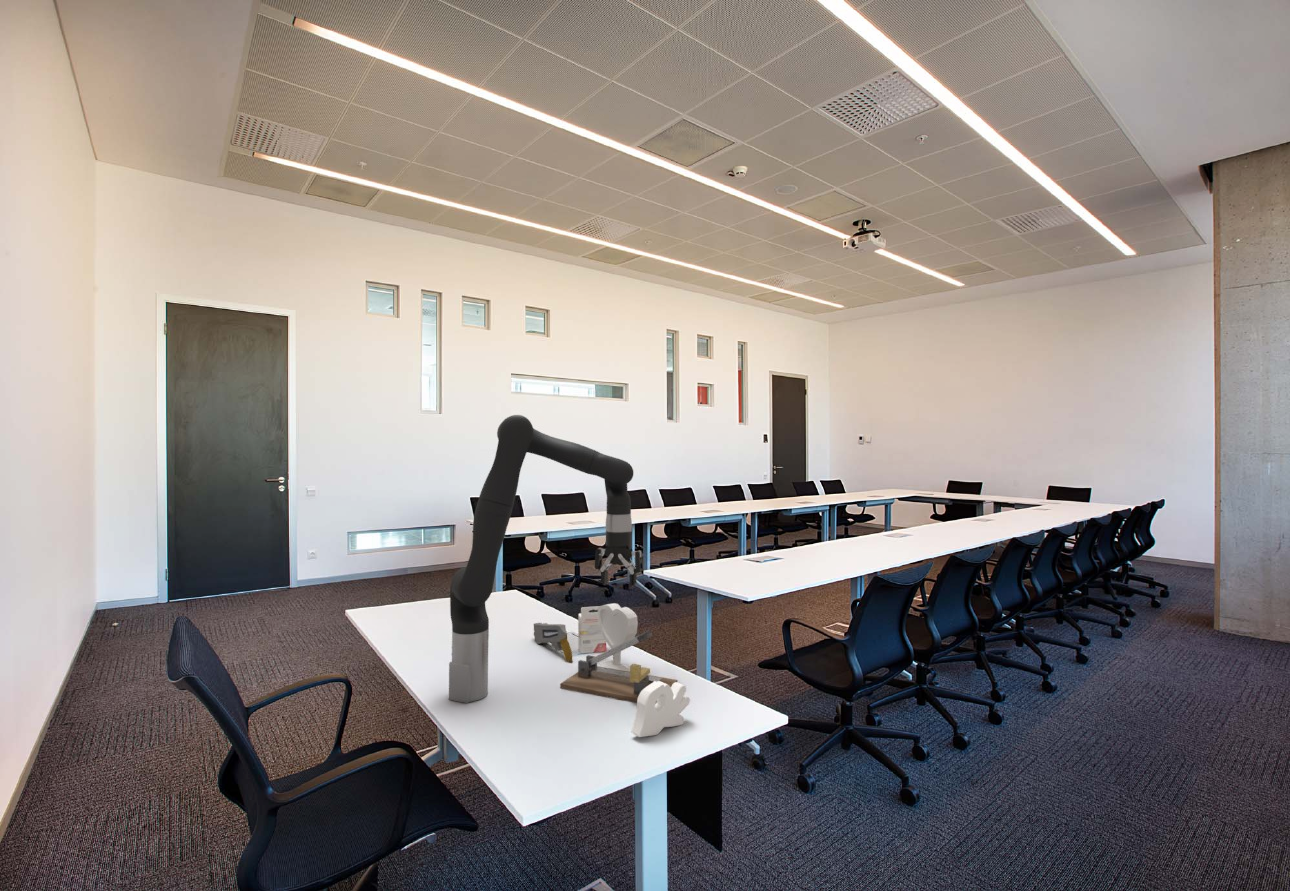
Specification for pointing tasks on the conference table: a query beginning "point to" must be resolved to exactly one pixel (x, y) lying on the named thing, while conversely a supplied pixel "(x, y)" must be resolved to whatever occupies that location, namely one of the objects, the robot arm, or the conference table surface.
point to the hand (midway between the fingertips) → (618, 585)
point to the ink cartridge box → (590, 632)
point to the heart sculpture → (616, 630)
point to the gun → (553, 637)
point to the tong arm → (620, 647)
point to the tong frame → (612, 675)
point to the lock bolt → (638, 673)
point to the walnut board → (606, 687)
